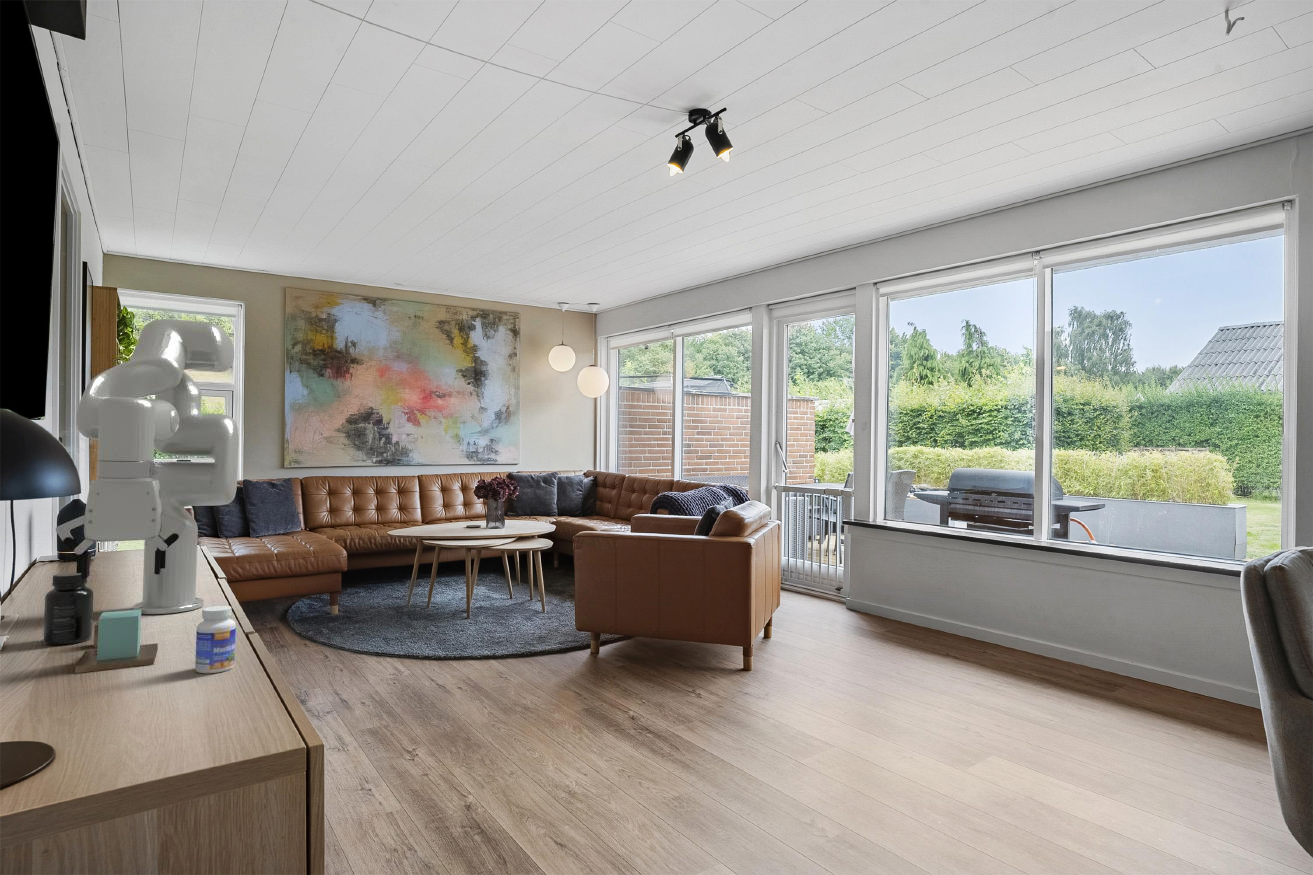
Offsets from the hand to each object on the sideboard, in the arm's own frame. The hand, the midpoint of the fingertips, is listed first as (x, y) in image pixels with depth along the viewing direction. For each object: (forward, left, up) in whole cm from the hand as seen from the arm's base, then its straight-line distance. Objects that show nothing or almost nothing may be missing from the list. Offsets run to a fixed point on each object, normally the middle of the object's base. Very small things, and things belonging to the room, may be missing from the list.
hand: (122, 575), depth 118 cm
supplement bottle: (-18, -9, -14) cm, 25 cm away
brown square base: (0, 0, -14) cm, 14 cm away
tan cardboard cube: (-12, -3, -14) cm, 19 cm away
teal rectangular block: (0, 0, -13) cm, 13 cm away
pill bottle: (+12, +13, -14) cm, 23 cm away
